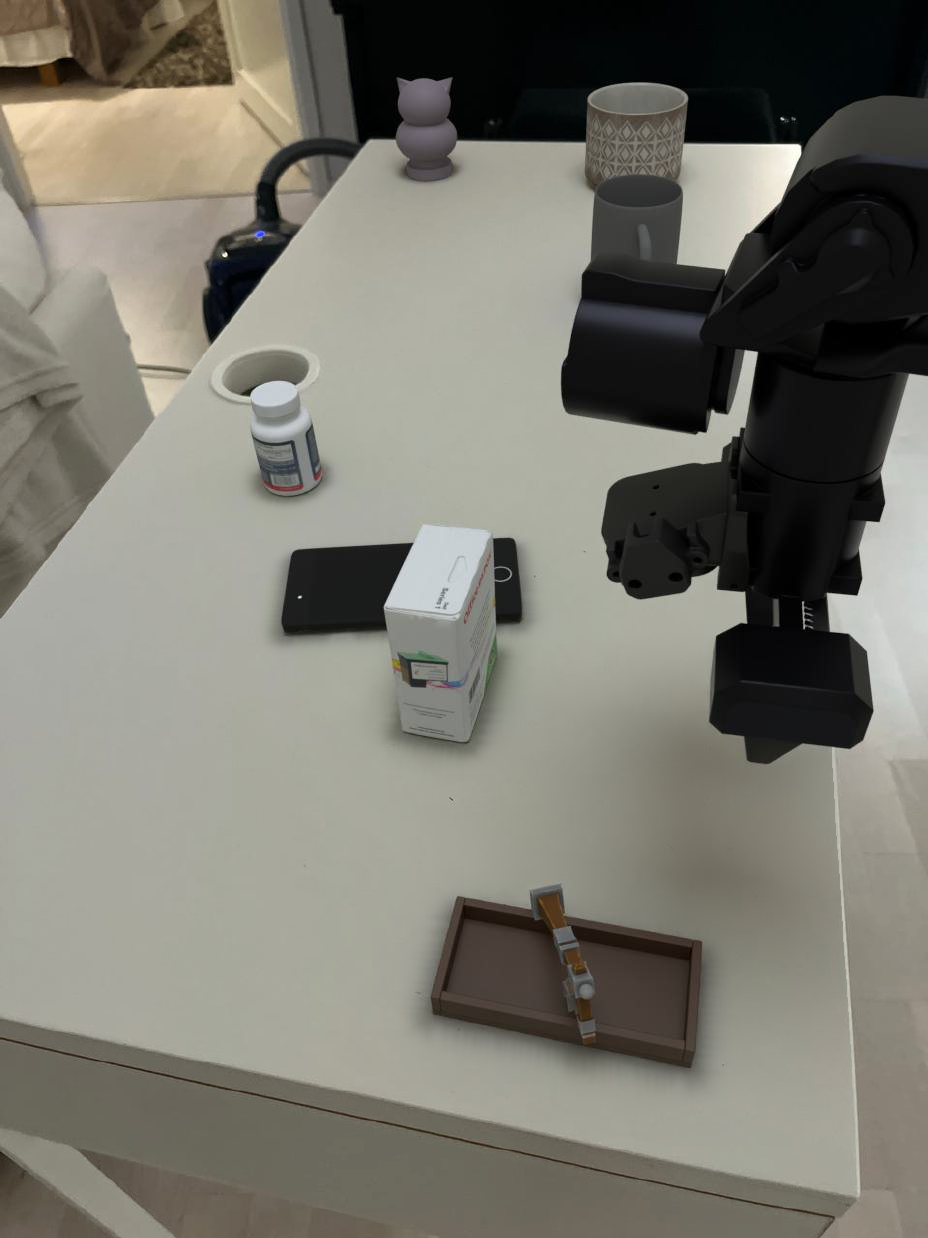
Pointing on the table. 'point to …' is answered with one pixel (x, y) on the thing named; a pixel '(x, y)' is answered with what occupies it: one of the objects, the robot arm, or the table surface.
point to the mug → (638, 217)
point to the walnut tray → (533, 977)
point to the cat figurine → (426, 128)
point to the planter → (635, 131)
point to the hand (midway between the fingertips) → (757, 691)
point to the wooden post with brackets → (567, 956)
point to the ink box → (443, 630)
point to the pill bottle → (284, 439)
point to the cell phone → (371, 585)
